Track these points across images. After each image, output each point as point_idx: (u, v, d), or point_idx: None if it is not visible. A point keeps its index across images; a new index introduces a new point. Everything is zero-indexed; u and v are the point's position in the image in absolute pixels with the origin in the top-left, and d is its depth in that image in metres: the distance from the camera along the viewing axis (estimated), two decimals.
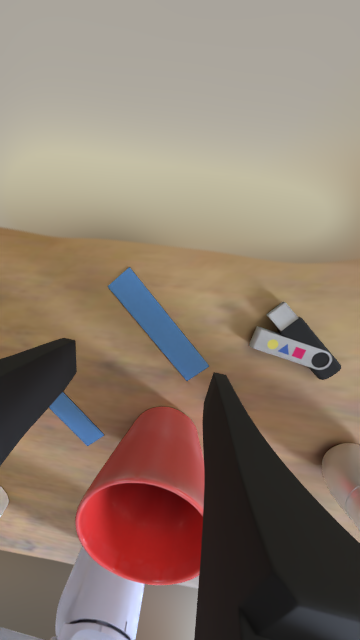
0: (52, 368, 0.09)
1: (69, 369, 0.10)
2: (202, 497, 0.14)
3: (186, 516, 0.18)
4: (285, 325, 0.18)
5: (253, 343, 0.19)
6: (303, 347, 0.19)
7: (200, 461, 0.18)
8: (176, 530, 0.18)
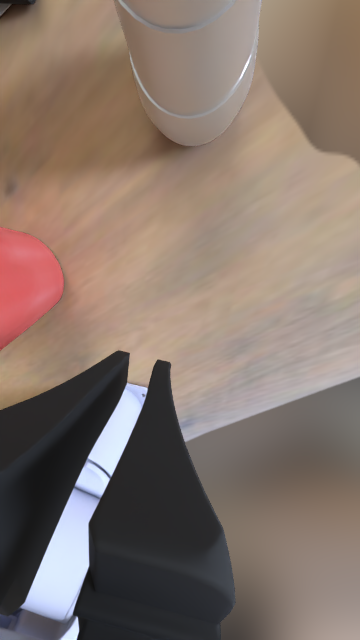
0: (114, 383, 0.09)
1: (123, 382, 0.10)
2: None
3: None
4: None
5: None
6: None
7: None
8: None
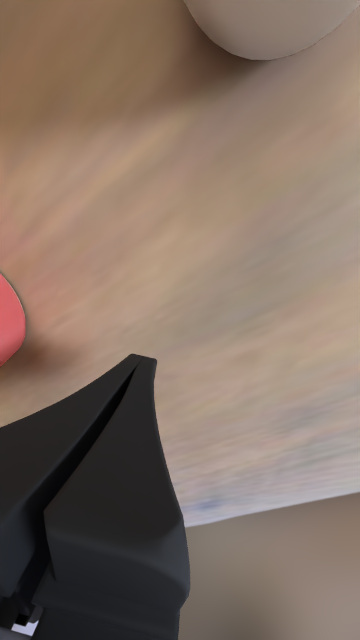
0: None
1: None
2: None
3: None
4: None
5: None
6: None
7: None
8: None
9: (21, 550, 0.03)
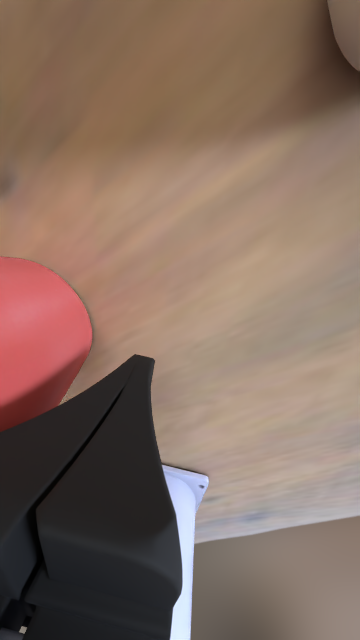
0: None
1: None
2: None
3: None
4: None
5: None
6: None
7: None
8: None
9: (30, 553, 0.03)
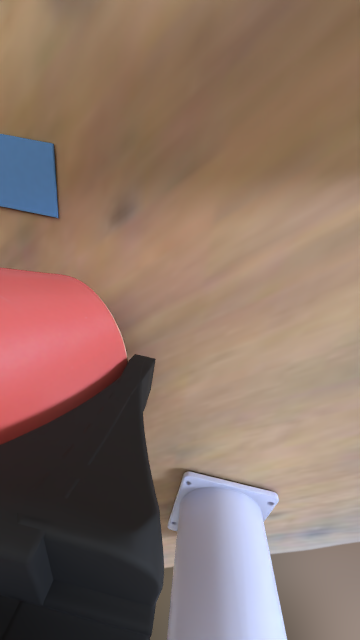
0: (144, 390, 0.08)
1: (149, 388, 0.10)
2: None
3: None
4: None
5: None
6: None
7: None
8: None
9: None
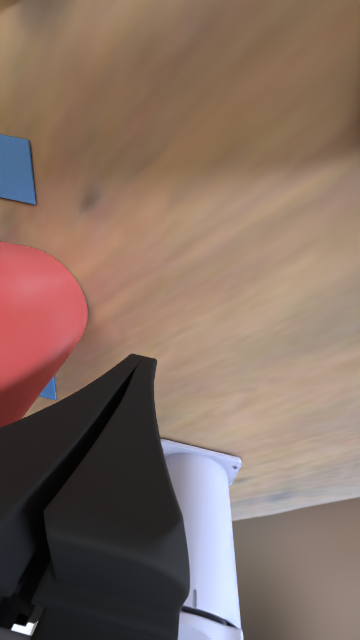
0: None
1: None
2: None
3: None
4: None
5: None
6: None
7: None
8: None
9: (21, 550, 0.03)
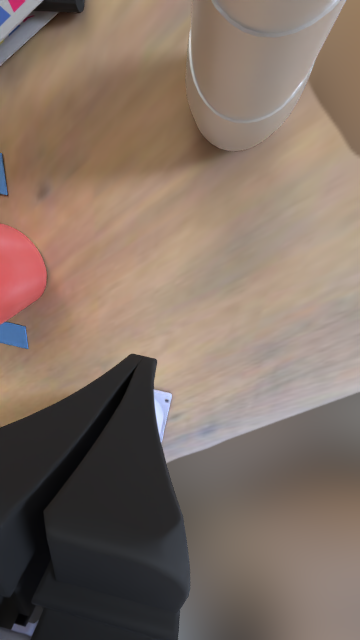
0: None
1: None
2: None
3: None
4: None
5: None
6: None
7: None
8: None
9: (21, 550, 0.03)
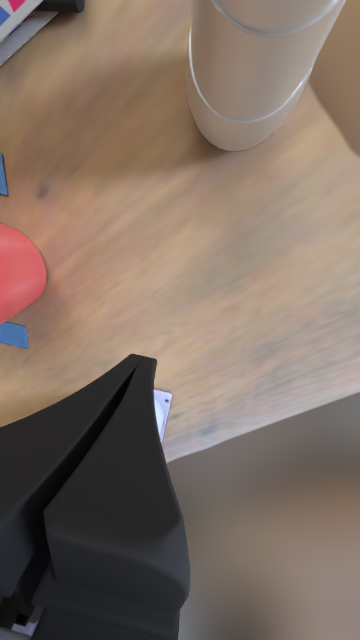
0: None
1: None
2: None
3: None
4: None
5: None
6: None
7: None
8: None
9: (21, 550, 0.03)
